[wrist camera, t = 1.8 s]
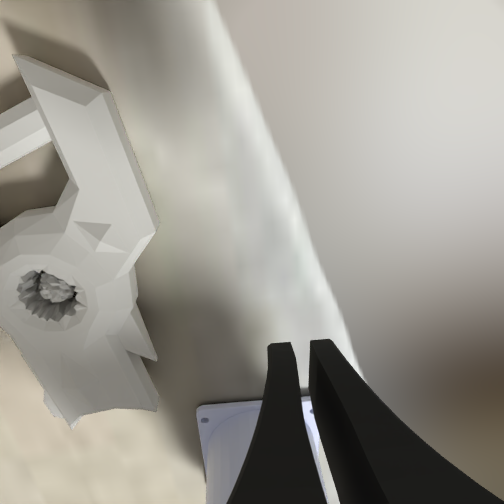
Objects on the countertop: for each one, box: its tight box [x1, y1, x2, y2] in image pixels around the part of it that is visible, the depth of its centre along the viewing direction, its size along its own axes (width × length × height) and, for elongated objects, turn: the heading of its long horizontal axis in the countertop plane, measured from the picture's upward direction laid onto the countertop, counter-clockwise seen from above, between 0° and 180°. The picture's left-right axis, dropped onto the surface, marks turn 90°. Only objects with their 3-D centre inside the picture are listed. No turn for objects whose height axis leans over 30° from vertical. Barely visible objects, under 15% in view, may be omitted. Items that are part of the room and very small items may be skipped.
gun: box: [0, 54, 160, 430], centre depth 18 cm, size 18×3×10 cm
